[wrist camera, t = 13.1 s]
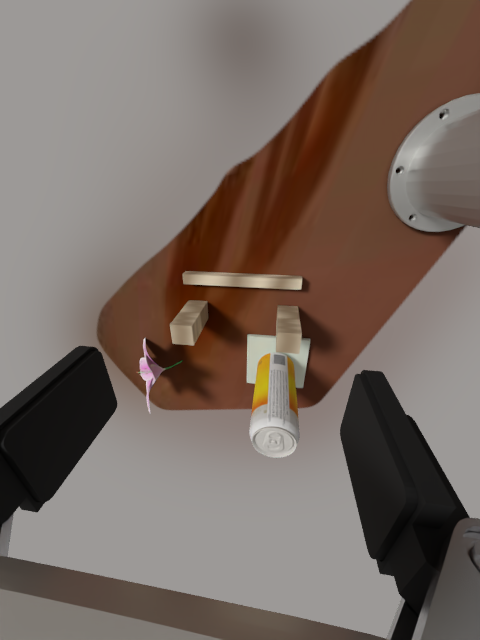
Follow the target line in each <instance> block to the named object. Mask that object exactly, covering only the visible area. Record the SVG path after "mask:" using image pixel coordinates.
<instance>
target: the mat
mask: <svg viewBox="0 0 480 640" xmlns="http://www.w3.org/2000/svg"><path fill="white" fill-rule="evenodd" d="M309 347H310V338H301V345H300V352H299V354H294V353H282V352H278V353H282V354H284V355H286V356H288V357H289V358H290V359H291V360H292V361H293V364H294V371H295V383H296V388H303V385H304V379H305V372H306V366H307V360H308V353H309ZM272 352H276V336H268V335H254V334H248V336H247V383H254V384H255V382H256V373H257V365H258V362H259V360H260V358H261V357H263V356H264V355H266V354H268V353H272Z"/></svg>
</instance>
